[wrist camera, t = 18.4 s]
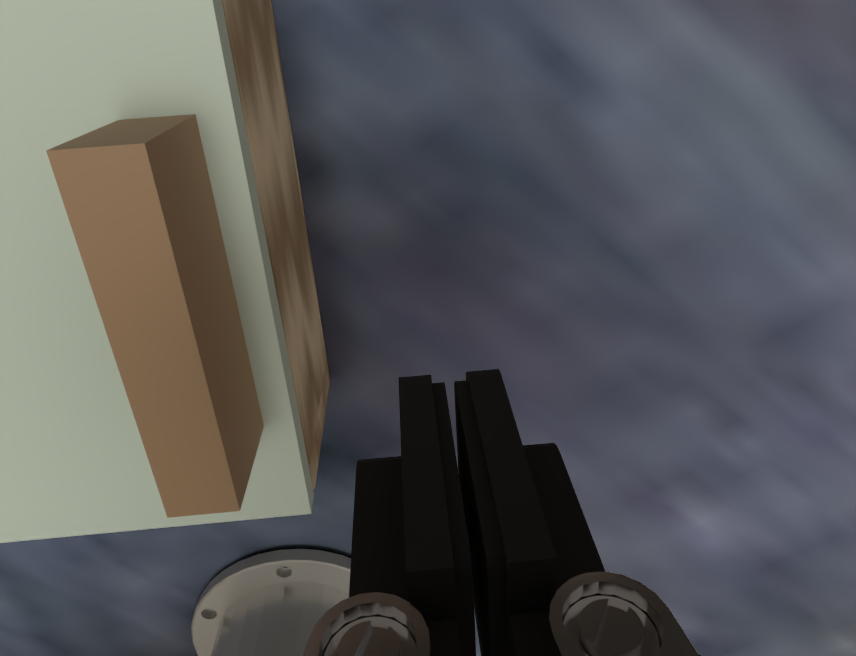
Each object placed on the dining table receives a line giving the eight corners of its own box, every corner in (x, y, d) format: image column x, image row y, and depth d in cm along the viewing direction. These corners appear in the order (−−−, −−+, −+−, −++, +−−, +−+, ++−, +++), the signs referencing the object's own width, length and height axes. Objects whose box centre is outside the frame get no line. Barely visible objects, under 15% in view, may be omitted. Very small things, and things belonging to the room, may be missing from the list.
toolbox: (330, 379, 31) (314, 488, 24) (-41, 411, 31) (-168, 533, 24) (265, -40, 23) (213, -62, 16) (-241, -7, 23) (-529, -13, 15)
